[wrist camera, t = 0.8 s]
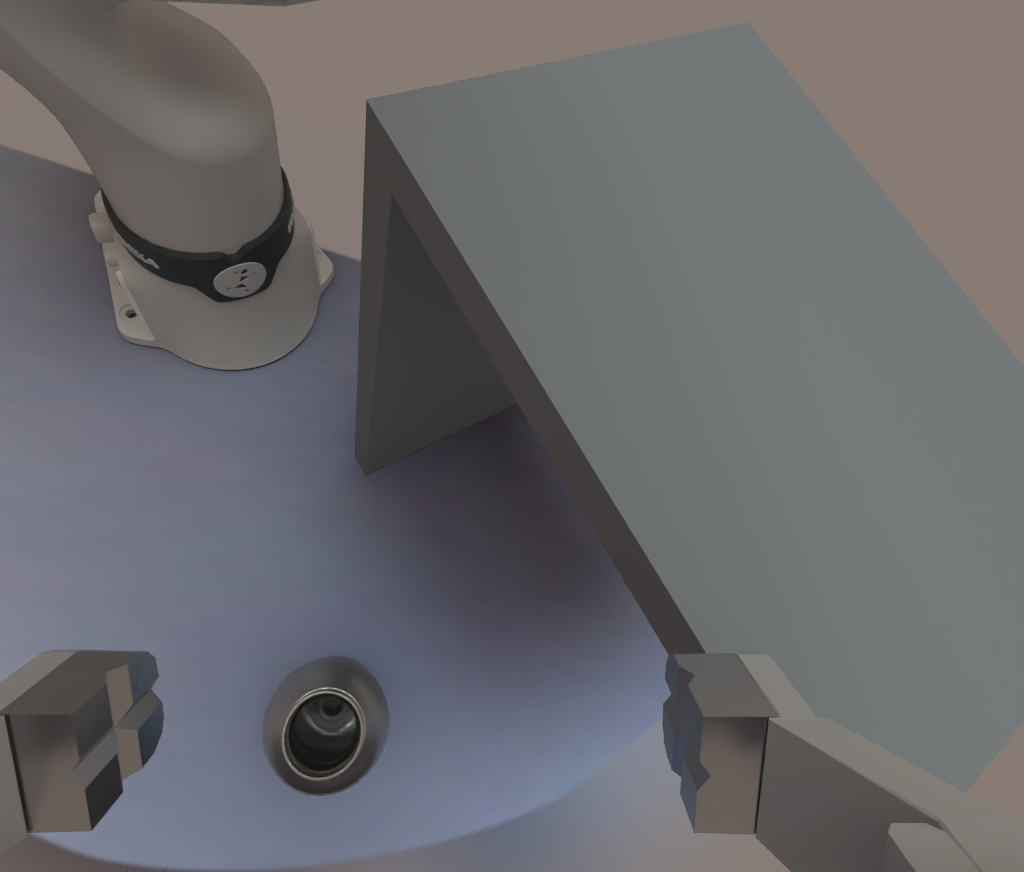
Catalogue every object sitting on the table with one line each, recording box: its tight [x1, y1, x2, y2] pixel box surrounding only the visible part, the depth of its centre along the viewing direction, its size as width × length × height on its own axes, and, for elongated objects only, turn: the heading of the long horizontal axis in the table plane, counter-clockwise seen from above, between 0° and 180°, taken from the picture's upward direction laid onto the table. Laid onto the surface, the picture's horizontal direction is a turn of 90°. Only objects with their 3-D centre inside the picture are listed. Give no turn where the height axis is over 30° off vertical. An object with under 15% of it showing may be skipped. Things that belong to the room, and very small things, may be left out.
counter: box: [355, 22, 1024, 792], centre depth 36 cm, size 26×18×36 cm
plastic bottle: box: [263, 656, 389, 796], centre depth 35 cm, size 6×7×20 cm
